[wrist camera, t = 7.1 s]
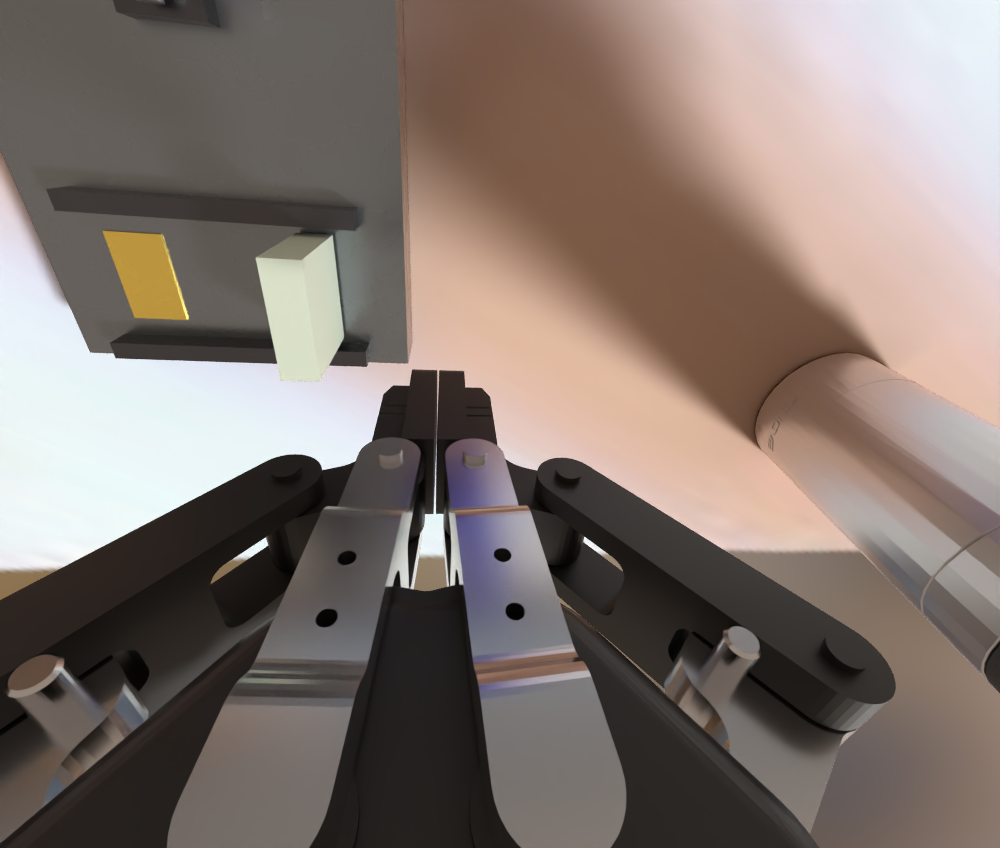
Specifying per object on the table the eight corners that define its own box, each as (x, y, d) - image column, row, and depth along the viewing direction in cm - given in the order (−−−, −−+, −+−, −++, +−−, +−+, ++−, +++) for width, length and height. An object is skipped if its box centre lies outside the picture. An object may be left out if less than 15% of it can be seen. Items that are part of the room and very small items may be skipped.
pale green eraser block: (332, 234, 21) (301, 260, 16) (344, 337, 23) (320, 381, 19) (296, 232, 20) (255, 257, 16) (312, 336, 23) (280, 380, 19)
